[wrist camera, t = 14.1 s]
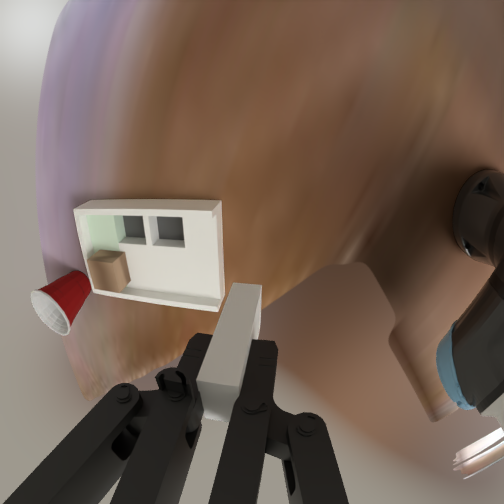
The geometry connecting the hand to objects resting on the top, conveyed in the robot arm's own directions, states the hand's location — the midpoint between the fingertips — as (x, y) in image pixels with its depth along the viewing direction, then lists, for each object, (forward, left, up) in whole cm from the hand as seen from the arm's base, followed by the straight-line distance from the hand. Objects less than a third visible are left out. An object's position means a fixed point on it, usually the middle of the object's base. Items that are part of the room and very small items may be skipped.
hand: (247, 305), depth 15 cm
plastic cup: (+40, +20, -27) cm, 52 cm away
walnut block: (+27, +13, -23) cm, 38 cm away
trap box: (+20, +10, -26) cm, 35 cm away
